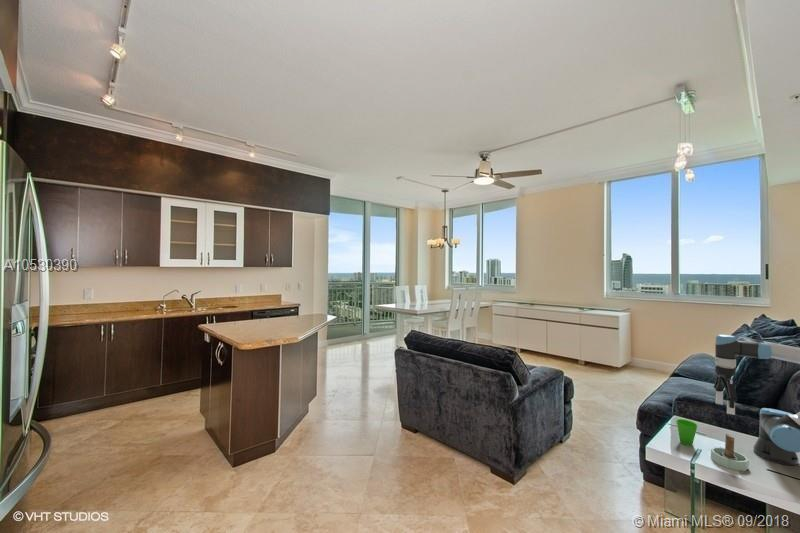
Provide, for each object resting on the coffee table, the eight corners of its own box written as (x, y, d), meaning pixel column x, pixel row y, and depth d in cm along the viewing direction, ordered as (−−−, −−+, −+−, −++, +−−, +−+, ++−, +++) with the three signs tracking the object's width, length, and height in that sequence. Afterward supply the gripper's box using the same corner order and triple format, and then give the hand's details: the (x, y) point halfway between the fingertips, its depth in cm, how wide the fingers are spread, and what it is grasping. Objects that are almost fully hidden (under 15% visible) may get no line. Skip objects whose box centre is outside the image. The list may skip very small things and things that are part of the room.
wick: (731, 460, 166) (732, 435, 166) (733, 462, 164) (734, 437, 164) (724, 458, 168) (725, 434, 167) (726, 461, 165) (727, 436, 165)
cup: (701, 448, 178) (702, 427, 178) (681, 446, 180) (682, 425, 179) (690, 440, 187) (691, 419, 186) (671, 437, 188) (672, 417, 188)
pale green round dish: (742, 460, 168) (742, 452, 168) (752, 473, 157) (752, 464, 157) (708, 452, 174) (708, 444, 174) (715, 464, 163) (715, 456, 163)
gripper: (706, 359, 186) (705, 399, 186) (726, 372, 163) (725, 417, 163) (724, 361, 183) (724, 401, 183) (747, 374, 160) (746, 420, 160)
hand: (724, 408), depth 173 cm, fingers open, 13 cm apart
